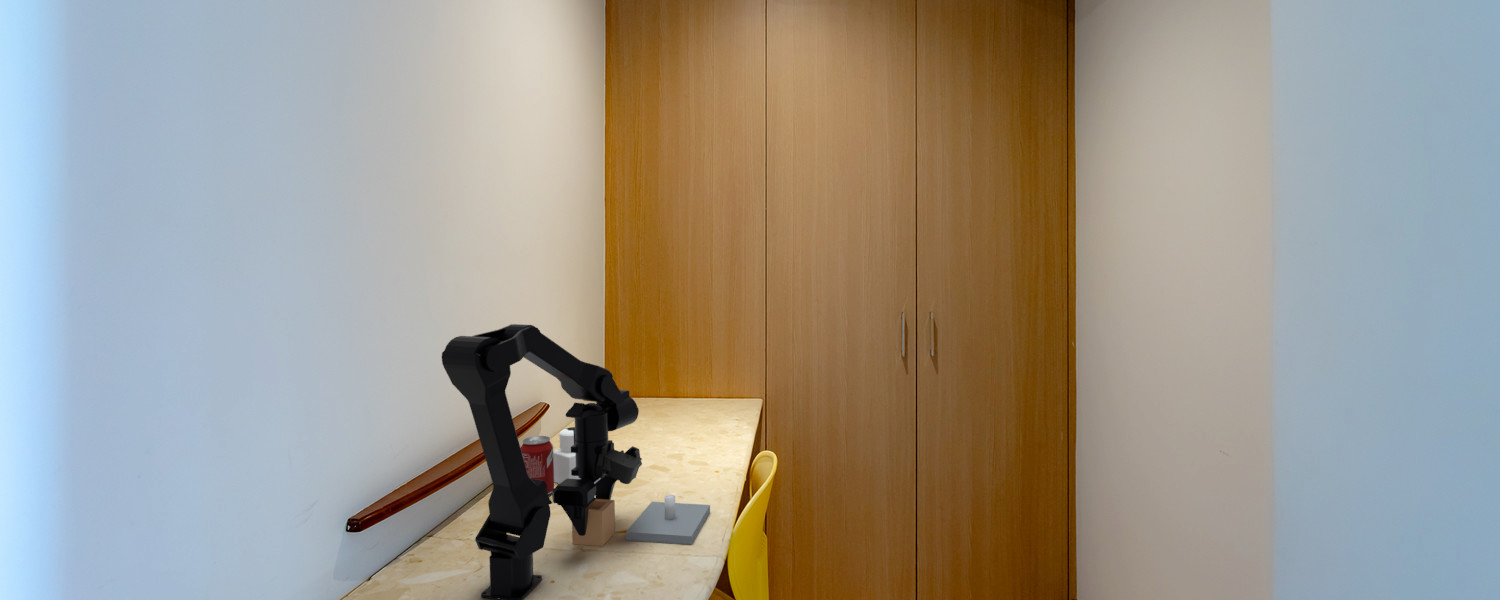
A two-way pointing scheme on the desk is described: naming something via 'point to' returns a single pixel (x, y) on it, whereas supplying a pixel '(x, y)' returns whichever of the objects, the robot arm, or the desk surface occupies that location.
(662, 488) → the desk surface
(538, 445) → the soda can
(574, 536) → the brown square box
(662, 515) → the board
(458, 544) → the desk surface
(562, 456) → the medicine bottle
